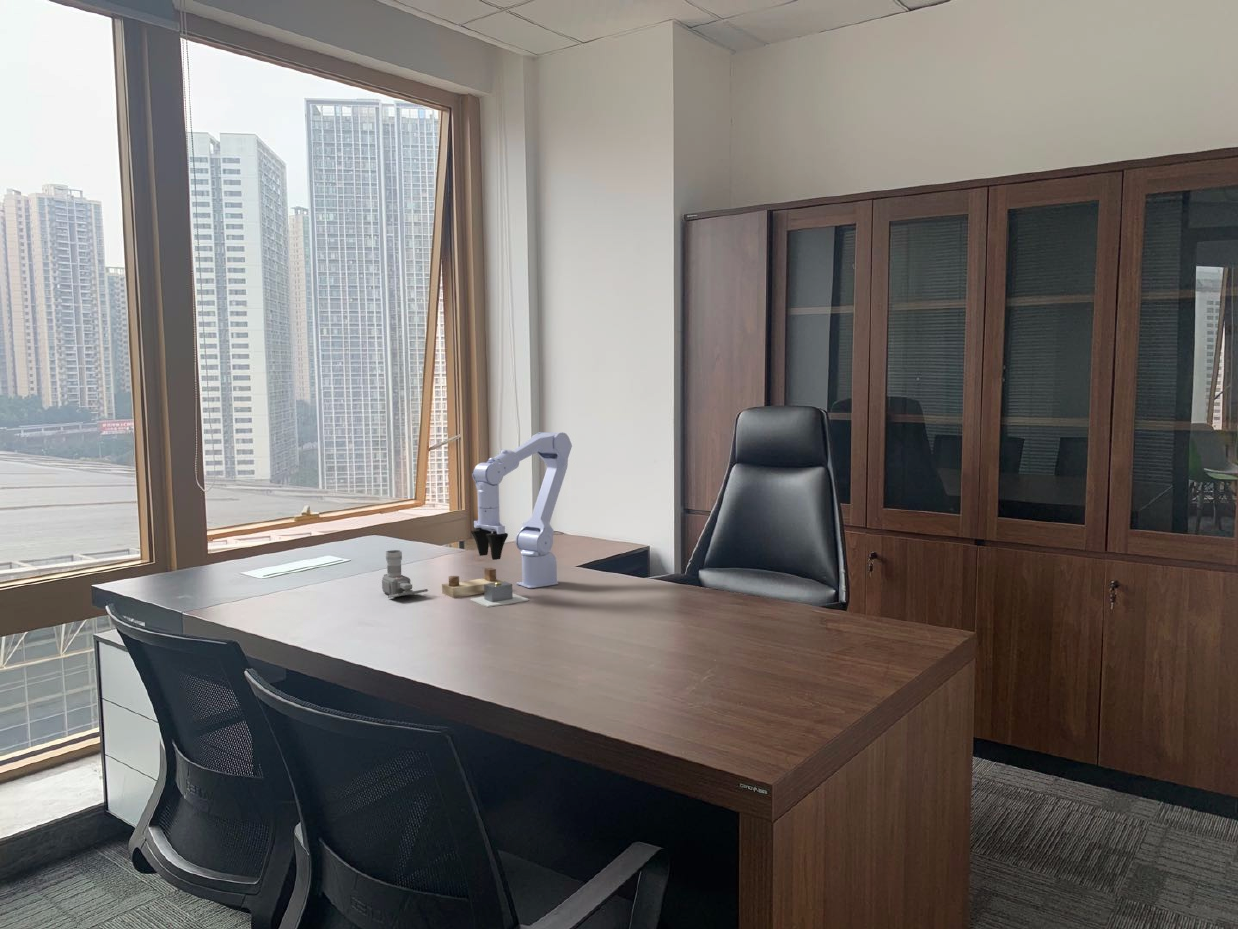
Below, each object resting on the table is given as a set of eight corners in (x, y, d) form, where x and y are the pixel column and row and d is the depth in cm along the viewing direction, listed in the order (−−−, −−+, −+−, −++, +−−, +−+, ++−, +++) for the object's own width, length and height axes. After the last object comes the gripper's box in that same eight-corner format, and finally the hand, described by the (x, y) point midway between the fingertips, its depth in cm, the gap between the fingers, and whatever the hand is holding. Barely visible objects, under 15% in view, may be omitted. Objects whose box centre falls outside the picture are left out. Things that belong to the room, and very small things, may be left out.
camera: (403, 547, 261) (427, 556, 249) (404, 589, 262) (428, 599, 250) (373, 551, 256) (397, 560, 244) (375, 593, 257) (398, 604, 245)
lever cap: (504, 596, 250) (504, 579, 249) (512, 599, 246) (512, 582, 246) (484, 599, 246) (483, 582, 246) (492, 602, 243) (491, 585, 242)
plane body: (491, 586, 264) (490, 566, 264) (502, 590, 259) (502, 570, 258) (442, 593, 256) (441, 572, 255) (453, 597, 250) (452, 576, 250)
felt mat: (510, 594, 254) (510, 592, 254) (528, 600, 246) (528, 599, 246) (470, 600, 247) (470, 598, 247) (487, 607, 239) (487, 605, 239)
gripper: (463, 505, 254) (464, 555, 255) (487, 511, 242) (488, 563, 244) (486, 503, 258) (487, 552, 259) (511, 509, 246) (512, 559, 248)
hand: (489, 557), depth 252 cm, fingers open, 7 cm apart
